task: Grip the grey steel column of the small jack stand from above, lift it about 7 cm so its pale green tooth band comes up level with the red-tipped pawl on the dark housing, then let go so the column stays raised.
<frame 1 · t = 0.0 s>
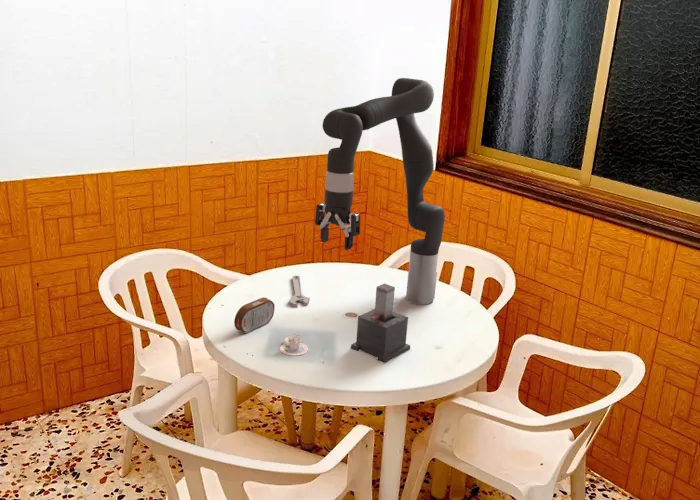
hand: (336, 245, 184), 29 cm above the table, tool pointing down, fingers open, 8 cm apart
housing: (380, 348, 191), on the table
tin: (255, 328, 199), on the table
teacup and saucer: (300, 347, 190), on the table
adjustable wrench: (299, 294, 226), on the table
column: (383, 318, 188), point 9 cm above the table, slide at 0.0 cm
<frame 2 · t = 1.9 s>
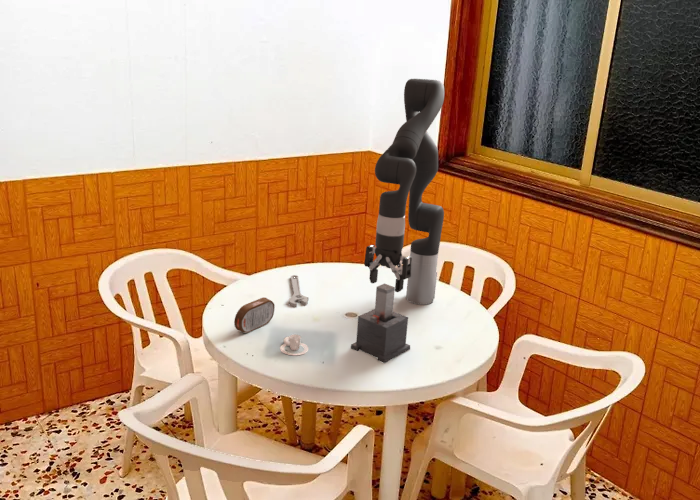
hand: (385, 286, 185), 19 cm above the table, tool pointing down, fingers open, 8 cm apart
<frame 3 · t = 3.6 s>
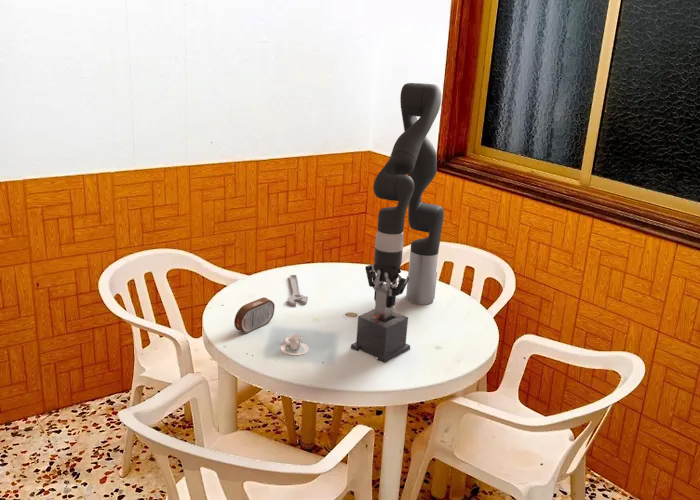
hand: (384, 304, 186), 14 cm above the table, tool pointing down, fingers closed on column, 3 cm apart
column: (383, 318, 188), point 9 cm above the table, slide at 0.0 cm, touching gripper
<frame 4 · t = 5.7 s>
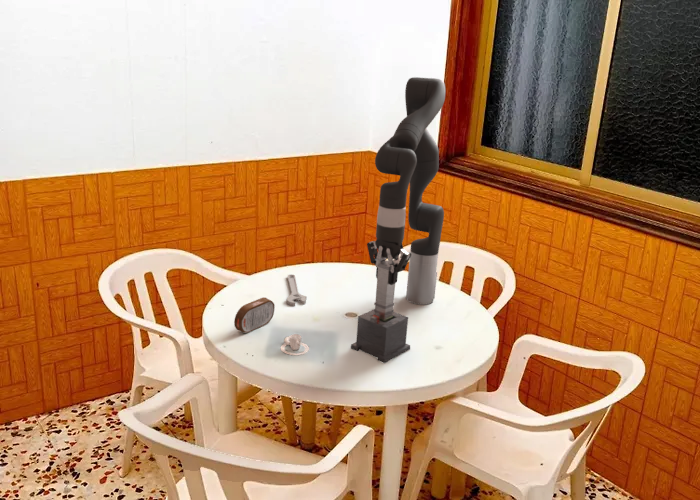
hand: (386, 281, 184), 21 cm above the table, tool pointing down, fingers closed on column, 3 cm apart
column: (385, 295, 185), point 16 cm above the table, slide at 6.9 cm, touching gripper
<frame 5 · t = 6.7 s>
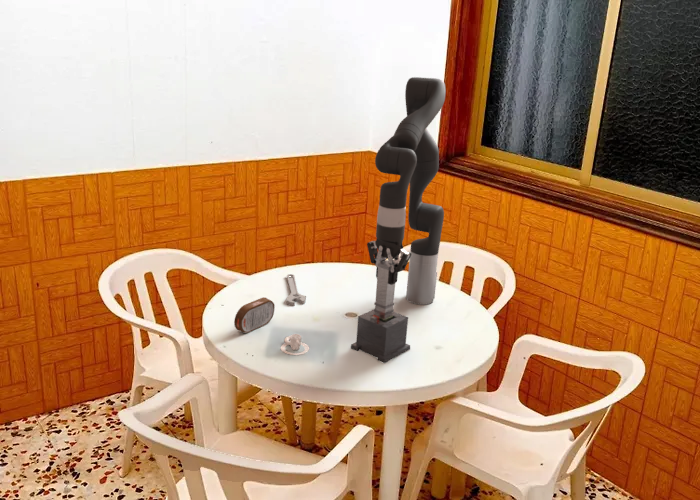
hand: (386, 281, 184), 21 cm above the table, tool pointing down, fingers closed on column, 3 cm apart
column: (385, 295, 185), point 16 cm above the table, slide at 6.9 cm, touching gripper
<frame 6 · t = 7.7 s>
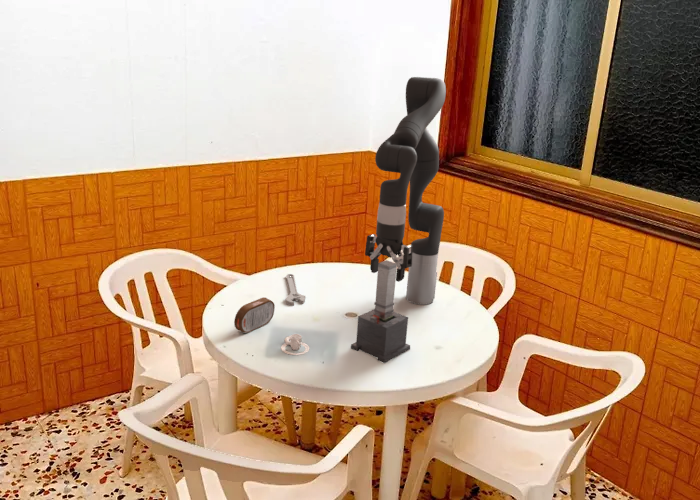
hand: (386, 276, 184), 22 cm above the table, tool pointing down, fingers open, 8 cm apart
column: (385, 295, 185), point 16 cm above the table, slide at 6.9 cm
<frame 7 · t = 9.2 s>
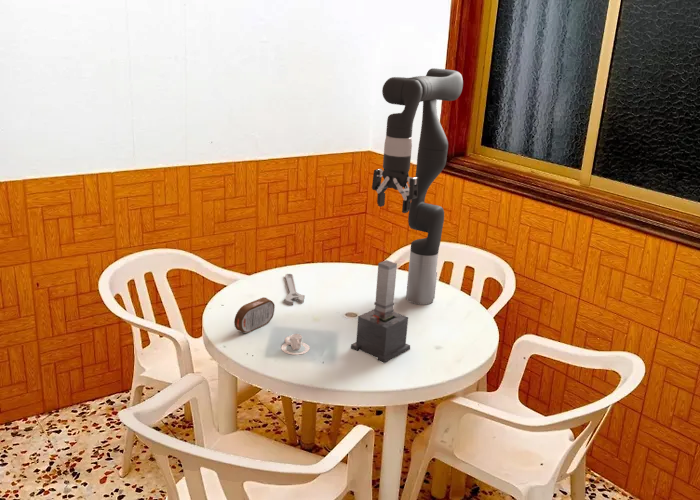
hand: (392, 209, 190), 38 cm above the table, tool pointing down, fingers open, 8 cm apart
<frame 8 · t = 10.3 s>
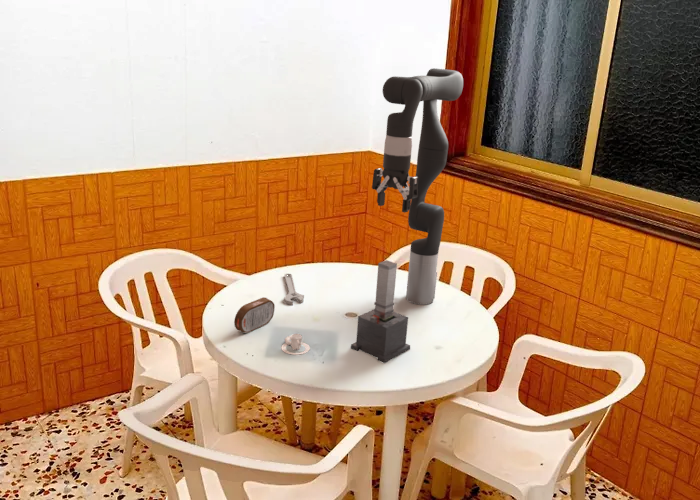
hand: (392, 208, 190), 38 cm above the table, tool pointing down, fingers open, 8 cm apart
at the end: column slide at 6.9 cm; the gripper is holding nothing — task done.
